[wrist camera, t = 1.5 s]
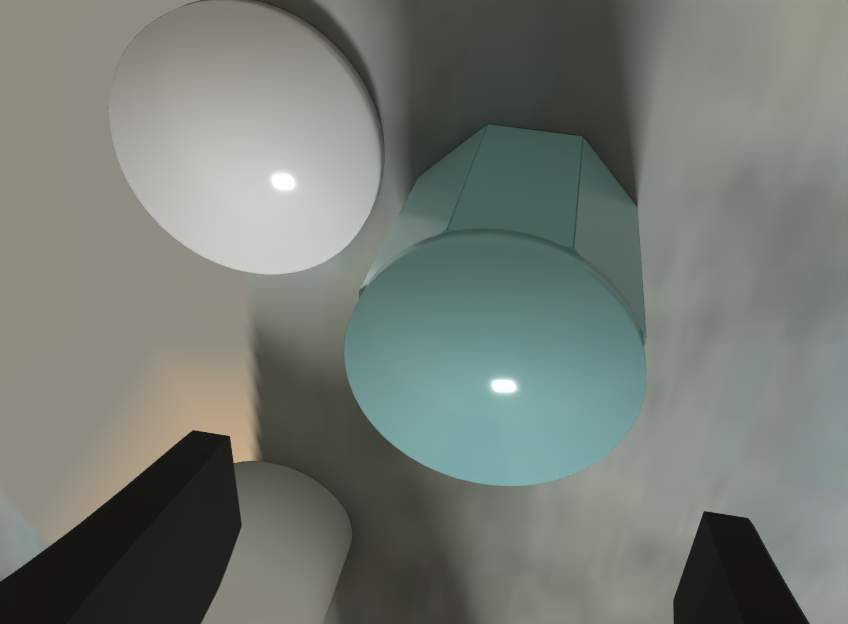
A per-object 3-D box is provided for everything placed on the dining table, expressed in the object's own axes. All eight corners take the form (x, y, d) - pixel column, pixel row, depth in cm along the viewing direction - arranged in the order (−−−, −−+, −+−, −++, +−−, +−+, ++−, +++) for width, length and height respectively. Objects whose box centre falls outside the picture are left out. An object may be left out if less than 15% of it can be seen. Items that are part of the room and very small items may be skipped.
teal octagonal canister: (542, 72, 17) (517, 178, 12) (683, 256, 19) (708, 414, 14) (365, 209, 20) (285, 341, 15) (501, 359, 22) (469, 520, 17)
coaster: (236, -72, 17) (225, -69, 16) (441, 169, 19) (436, 178, 19) (71, 118, 20) (58, 126, 20) (261, 305, 22) (253, 316, 22)
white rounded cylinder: (271, 437, 25) (189, 588, 20) (384, 541, 27) (334, 704, 22) (172, 498, 28) (79, 644, 23) (281, 589, 30) (215, 744, 25)
